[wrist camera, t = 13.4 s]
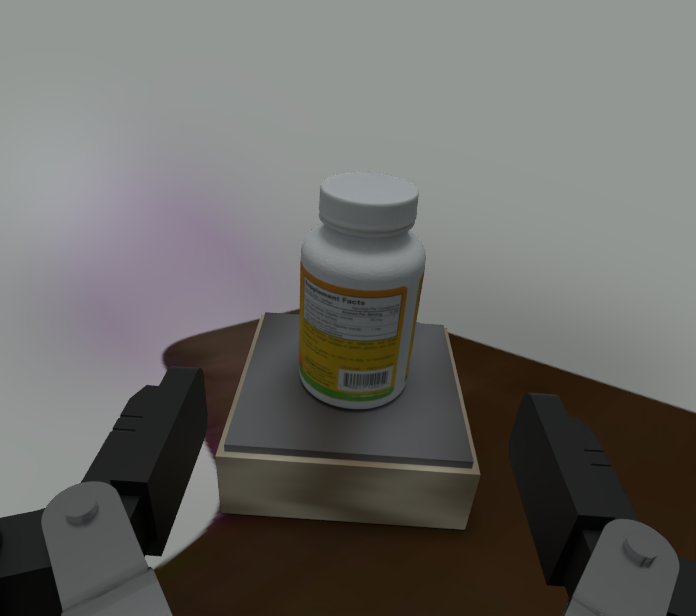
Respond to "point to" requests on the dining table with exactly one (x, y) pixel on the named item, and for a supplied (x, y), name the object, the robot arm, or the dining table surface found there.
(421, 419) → the plinth
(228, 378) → the dining table surface
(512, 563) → the dining table surface
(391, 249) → the supplement bottle
